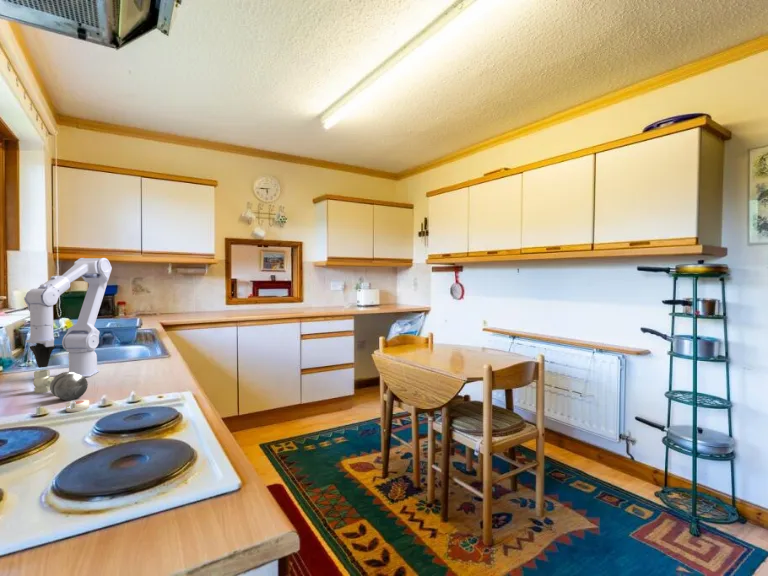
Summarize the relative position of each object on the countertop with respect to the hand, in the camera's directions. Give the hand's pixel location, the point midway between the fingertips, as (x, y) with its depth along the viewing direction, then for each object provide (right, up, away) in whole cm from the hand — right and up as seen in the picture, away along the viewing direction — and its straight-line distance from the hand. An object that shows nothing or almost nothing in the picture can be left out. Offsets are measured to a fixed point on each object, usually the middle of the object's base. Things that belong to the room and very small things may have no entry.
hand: (42, 366), depth 131 cm
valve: (+8, -7, -5) cm, 12 cm away
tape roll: (+28, -7, -22) cm, 37 cm away
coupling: (+19, -7, -13) cm, 24 cm away
